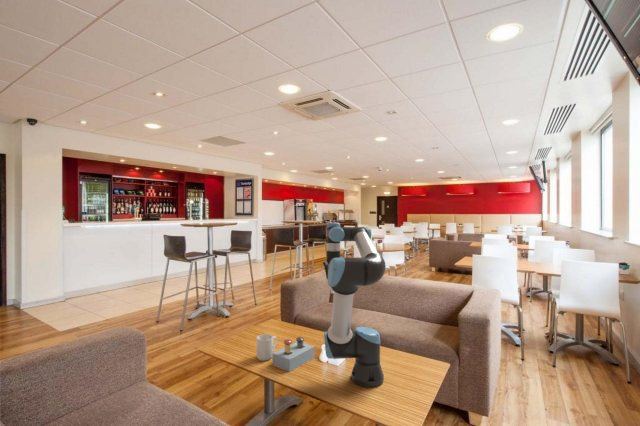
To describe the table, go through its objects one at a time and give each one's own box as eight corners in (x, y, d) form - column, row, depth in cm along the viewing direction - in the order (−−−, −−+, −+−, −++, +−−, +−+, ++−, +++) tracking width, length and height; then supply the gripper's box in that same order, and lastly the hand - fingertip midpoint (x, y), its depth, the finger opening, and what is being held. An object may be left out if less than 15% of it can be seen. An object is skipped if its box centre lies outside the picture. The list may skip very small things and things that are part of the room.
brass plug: (293, 358, 165) (293, 340, 166) (287, 360, 162) (288, 343, 162) (287, 356, 168) (287, 338, 168) (282, 358, 165) (282, 341, 165)
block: (314, 357, 174) (314, 346, 174) (289, 371, 157) (289, 359, 158) (297, 351, 181) (297, 341, 181) (272, 364, 165) (272, 353, 165)
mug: (263, 363, 167) (263, 341, 167) (253, 357, 173) (253, 337, 173) (280, 355, 175) (281, 335, 175) (270, 351, 181) (271, 331, 181)
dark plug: (305, 354, 174) (305, 338, 174) (300, 357, 170) (300, 340, 170) (299, 352, 176) (299, 336, 176) (294, 355, 173) (294, 338, 173)
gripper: (346, 250, 177) (346, 293, 177) (327, 249, 185) (327, 289, 184) (339, 251, 171) (339, 295, 171) (320, 250, 179) (319, 292, 178)
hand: (333, 292), depth 178 cm, fingers closed
